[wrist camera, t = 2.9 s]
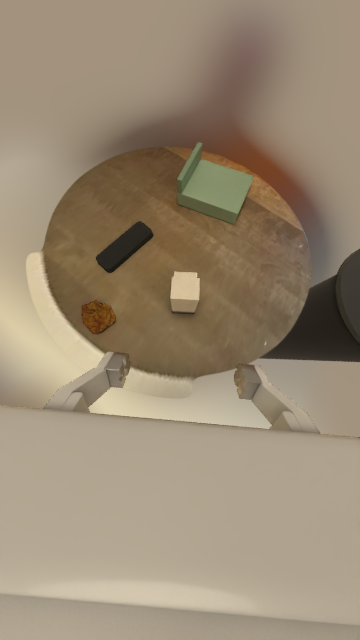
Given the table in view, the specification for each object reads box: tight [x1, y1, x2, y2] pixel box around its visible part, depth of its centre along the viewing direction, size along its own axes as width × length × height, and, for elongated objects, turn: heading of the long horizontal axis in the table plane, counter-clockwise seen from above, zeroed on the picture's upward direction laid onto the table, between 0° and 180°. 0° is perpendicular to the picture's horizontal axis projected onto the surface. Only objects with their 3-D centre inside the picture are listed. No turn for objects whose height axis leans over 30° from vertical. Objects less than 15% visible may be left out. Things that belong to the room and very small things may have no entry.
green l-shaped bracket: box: [177, 142, 254, 224], centre depth 39 cm, size 16×13×6 cm
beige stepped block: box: [170, 272, 200, 314], centre depth 31 cm, size 8×5×9 cm, turn 177°
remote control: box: [96, 221, 153, 273], centre depth 37 cm, size 5×2×15 cm
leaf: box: [81, 300, 115, 333], centre depth 33 cm, size 6×7×2 cm
